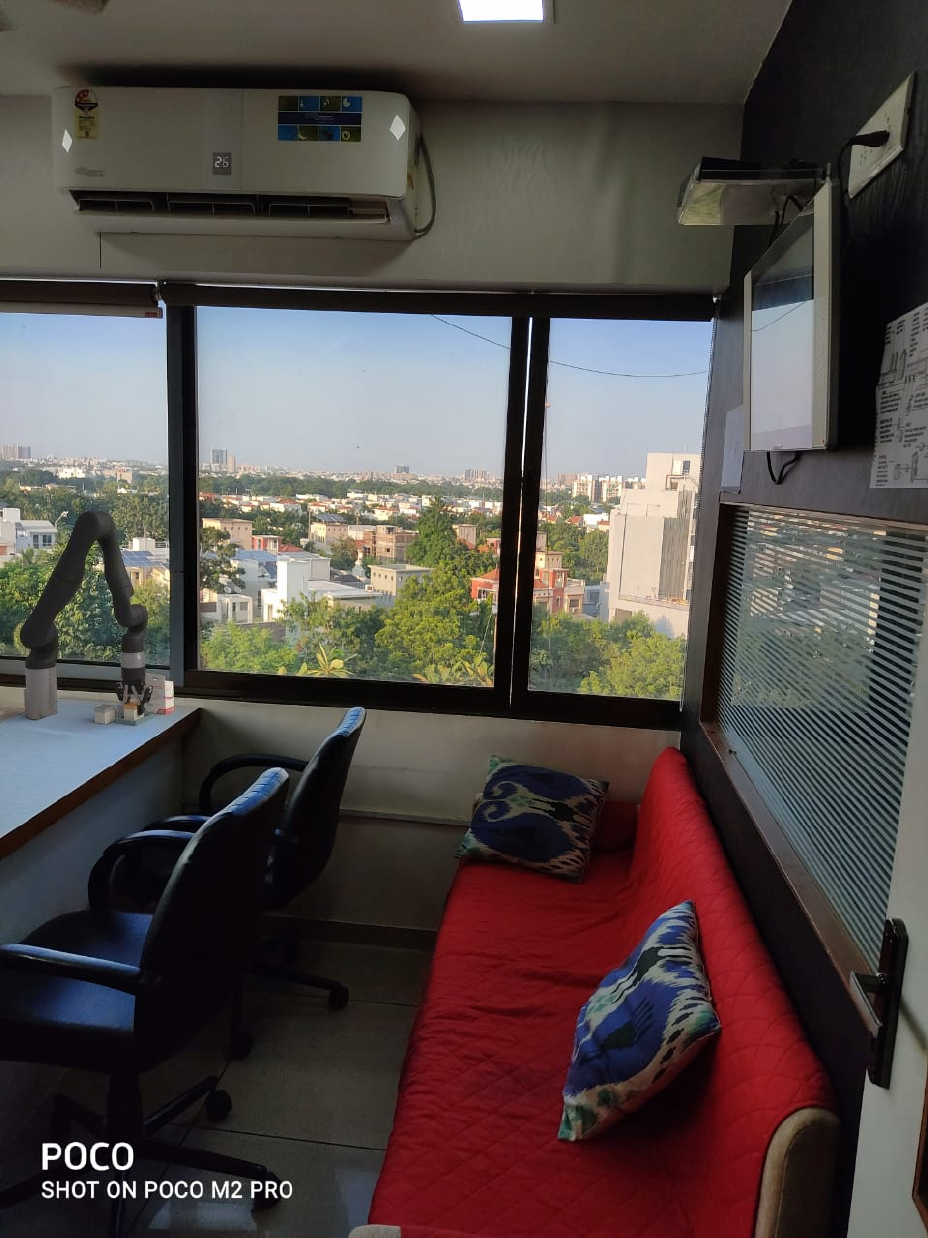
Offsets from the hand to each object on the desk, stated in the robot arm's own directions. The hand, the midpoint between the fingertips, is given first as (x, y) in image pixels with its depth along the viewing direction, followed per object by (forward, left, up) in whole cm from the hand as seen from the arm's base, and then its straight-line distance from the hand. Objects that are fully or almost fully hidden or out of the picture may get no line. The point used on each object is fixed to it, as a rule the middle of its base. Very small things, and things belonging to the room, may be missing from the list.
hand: (134, 713), depth 279 cm
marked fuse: (0, 0, -1) cm, 1 cm away
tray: (0, 0, -3) cm, 3 cm away
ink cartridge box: (+1, +12, -4) cm, 13 cm away
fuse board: (-8, +2, -3) cm, 9 cm away
